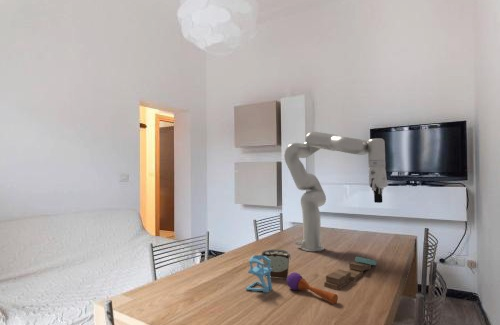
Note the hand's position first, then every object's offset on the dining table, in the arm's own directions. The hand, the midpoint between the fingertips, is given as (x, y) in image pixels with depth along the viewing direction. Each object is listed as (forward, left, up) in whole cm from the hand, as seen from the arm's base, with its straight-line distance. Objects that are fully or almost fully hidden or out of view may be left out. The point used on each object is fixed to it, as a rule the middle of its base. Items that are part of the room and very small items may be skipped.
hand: (378, 202), depth 141 cm
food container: (-46, -27, -27) cm, 60 cm away
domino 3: (-10, -13, -26) cm, 31 cm away
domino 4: (-14, -20, -27) cm, 36 cm away
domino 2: (-21, -29, -27) cm, 45 cm away
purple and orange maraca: (-33, -44, -28) cm, 62 cm away
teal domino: (-6, -8, -26) cm, 28 cm away
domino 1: (-20, -28, -25) cm, 43 cm away
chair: (-52, -42, -27) cm, 72 cm away
